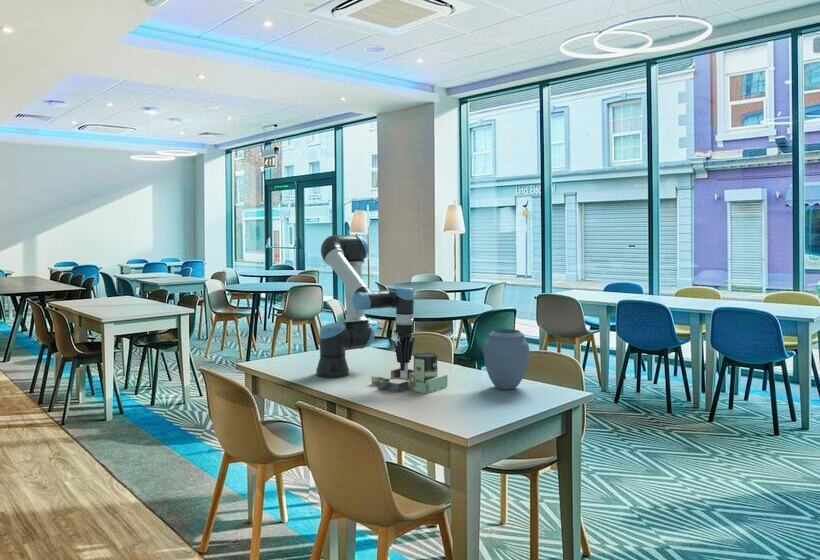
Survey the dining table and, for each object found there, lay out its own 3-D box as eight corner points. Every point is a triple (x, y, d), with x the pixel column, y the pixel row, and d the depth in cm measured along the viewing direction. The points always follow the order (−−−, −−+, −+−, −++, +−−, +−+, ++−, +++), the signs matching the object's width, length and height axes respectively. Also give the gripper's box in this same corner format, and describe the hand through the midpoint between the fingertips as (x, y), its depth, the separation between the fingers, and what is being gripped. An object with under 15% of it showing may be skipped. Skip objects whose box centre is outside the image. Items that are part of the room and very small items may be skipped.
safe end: (417, 391, 271) (417, 379, 271) (437, 384, 284) (437, 373, 283) (428, 393, 268) (428, 381, 268) (447, 386, 281) (447, 374, 281)
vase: (524, 395, 265) (525, 335, 264) (477, 391, 272) (478, 332, 271) (532, 385, 284) (533, 329, 282) (488, 381, 290) (489, 326, 289)
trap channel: (362, 386, 279) (362, 378, 279) (400, 375, 302) (400, 367, 302) (409, 394, 266) (409, 386, 266) (445, 382, 289) (445, 374, 289)
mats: (366, 386, 280) (366, 386, 280) (400, 376, 301) (400, 375, 301) (398, 391, 270) (398, 391, 270) (431, 380, 291) (431, 380, 291)
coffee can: (439, 385, 282) (439, 353, 281) (435, 391, 272) (435, 357, 271) (415, 384, 284) (415, 352, 283) (411, 389, 274) (411, 356, 273)
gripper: (403, 326, 275) (402, 381, 277) (420, 322, 286) (419, 376, 287) (388, 324, 279) (388, 379, 281) (406, 321, 290) (405, 373, 292)
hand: (403, 377), depth 284 cm, fingers closed
